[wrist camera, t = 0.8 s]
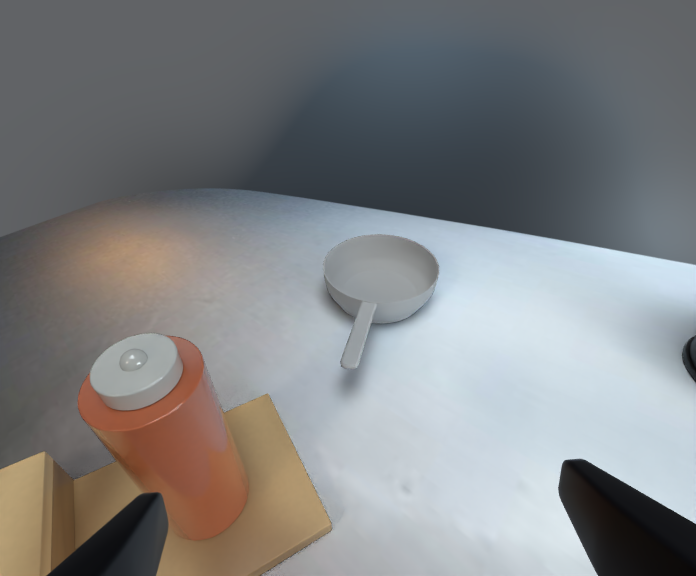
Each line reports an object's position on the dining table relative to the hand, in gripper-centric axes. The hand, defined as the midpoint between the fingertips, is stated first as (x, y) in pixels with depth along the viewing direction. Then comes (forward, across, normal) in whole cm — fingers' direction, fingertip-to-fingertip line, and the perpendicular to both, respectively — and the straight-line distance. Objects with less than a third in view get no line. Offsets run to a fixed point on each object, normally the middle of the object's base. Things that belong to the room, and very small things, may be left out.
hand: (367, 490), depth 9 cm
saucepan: (+26, -3, +7) cm, 27 cm away
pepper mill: (+12, +8, +11) cm, 18 cm away
